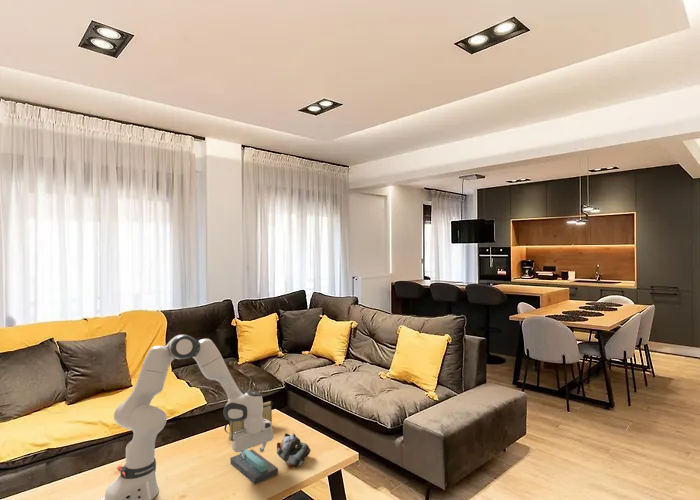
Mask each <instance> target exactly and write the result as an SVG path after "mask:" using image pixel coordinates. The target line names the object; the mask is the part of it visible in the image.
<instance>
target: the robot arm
mask: <svg viewBox="0 0 700 500" xmlns="http://www.w3.org/2000/svg"><path fill="white" fill-rule="evenodd" d="M190 358H193V360H194V361H195V362H196V364H197V366H198V368H199V370H200V372H201V373H202V375H203V376H204V378H206V379H207V380H211V381H217V382H218V383H219V384H220V385H221V387H222V389H223V390H224V392H225V394H226V396H227V402H226V404H225V406H224V407H223V410H222V411H223V412H222V413H223V414H222V415H223V416H224V418H225V420H226V421H227V420H228V421H230V422H236V421H241V420H244V429H242V430H238V431H236V432H235V433H236V434H235V433H234V434H233V439H232V444H231V446H232V447H231V448H232V450H233V451H234V452H235V453H239V454H240V453H241V454H242V458H243V459H245V458H246V454H245V453H243V452H244V450H245V449H247V450H249V449H251V448H254V447H257V446H259V445H261V446H260V447H259V452H260V453H263V452H265V448H266V446H267V443H268V442H271V441H273V439H274V428H273V423H271V422H270V421H269V420H267V419H263V417H262V412H263V403H264V401H263V397H262V394H261V393H260V392H259V391H256V390H247V391H246V392H244V391H243V390H242V389H240V388H241V387H239V385H238V383H237V382H236V380H235V379H234V377H233V376H232V374H231V372H230V370H229V367H228V366H227V364H226V362H225V360H224V358H223V356H222V354H221V352H220V351H219V349H218V348H217V346H216V344H215V343H214V342H213V340H212V339H210V338H202V339H199V340H198V339H196V338H194V337H193V336H190V335H188V334H177V335H175V336H173V337H172V338H171V339H169V341H168V342H167V343H166V344H165V345H154V346H152V347H150V349H149V350H148V352H147V353H146V356H145V358H144V360H143V363H142V365H141V368H140V371H139V373H138V374H139V375H138V377H137V380H136V382H135V383H136V384H135V386H134V388H133V390H132V392H131V393H130V394H129V396H128V397H127V399H125V401H123V402H122V403H120V404H118V406H117V407H116V408H115V411H114V414H113V419H114V421H115V423H116V424H117V425H119V426H120V427H121V428H124V429H127V430H130V431H132V432H133V435H132V440H130V441H129V442H128V443H127V444H126V447H125V464H124V465H122V464H119V465H118V466H117V468H116V469H117V471H118V472H119V474H120V475H119V476H117V478H115V480H114V481H113V482H111V483H110V484H109V485H108V486H107V488H106V490H105V493H104V497H102V498H100V500H153V499H154V498H155V497H156V496H157V495H158V494H159V492H160V488H159V485H158V482H157V477H156V469H157V461H156V458H155V447H156V446H155V445H156V439H157V436H158V434H159V433H160V432H161V431H163V429H164V427H165V426H166V423H167V419H168V418H167V414H166V412H165V411H164V410H162V409H161V408H159V407H158V406H154V405H151V402H152V400H153V399H154V398H155V396H157V395H159V394H160V393H161V392H162V391H163V390H164V386H165V382H166V378H167V376H168V373H169V372H168V371H169V368H170V365H172V362H173V361H174V360H176V359H177V360H187V359H190Z"/></svg>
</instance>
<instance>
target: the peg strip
mask: <svg viewBox="0 0 700 500" xmlns="http://www.w3.org/2000/svg"><path fill="white" fill-rule="evenodd" d="M243 453H245V454H246V458H245V459H243V458H242V459H243V460H246V461H247V462H248V463H249V464H251V465H252V466H253V467H254V468H256V470H257V471H258V472H264V471H266V470H268V464H266V463H265V462H264V461H262V460H261V459H260V458H258V457H257V456H256V455H254V454H253V453H252V452H250V451H249V449H245V450H244V452H243ZM239 454H240V457H242V454H241V453H240V452H239Z"/></svg>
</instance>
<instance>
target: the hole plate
mask: <svg viewBox="0 0 700 500" xmlns="http://www.w3.org/2000/svg"><path fill="white" fill-rule="evenodd" d="M248 450H249V449H248ZM249 451H250V452H252V453H253V454H254V455H256V456H257V457H258V458H260V459H261V460H262V461H264V462H265V463H266V464H268V470H266V471H264V472H258V471H257V470H256V468H254V467H253V466H252V465H251V464H249V463H248V462H247V461H246V460H243V459H242V457H240V453H239V454H236V455H234V456H231V457H230V459H229V460H230V465H232V467H233V468H235V469H236V470H237V471H238V472H239V473H241V474H242V476H244V477H245V478H247V480H248V481H250V482H251V483H252V484H254V485H255V486H256V485H257V484H260V483H262V482H264V481H266V480H269V479H271V478H273V477H276V476H278V475H279V468H278V467H277V466H276V465H275V464H273V463H272V462H271V461H269V460H268V459H266V458H265V457H263V455H261V454H259V453H258V452H256V451H255V449H250V450H249Z"/></svg>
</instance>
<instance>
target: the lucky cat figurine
mask: <svg viewBox="0 0 700 500" xmlns="http://www.w3.org/2000/svg"><path fill="white" fill-rule="evenodd" d="M311 451H312V450H311V448H310V446H309V445H308V444H307V443H306V442H301V439H300V438H299V437H298V436H297V435H296V434H295V433H292V434H291V435H290V434H289V433H285V434H284V436H283V438H282V440H281V441H279V442H277V443H276V454H277V455H278V457H279V458H281V460H283V461H284V462H285V463H286V464H287V466H288V467H289V468H298V467H300V466H301V465H302V464H303V463H304V461H305V459H306V458H307V457H308V456H309V454H311Z"/></svg>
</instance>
